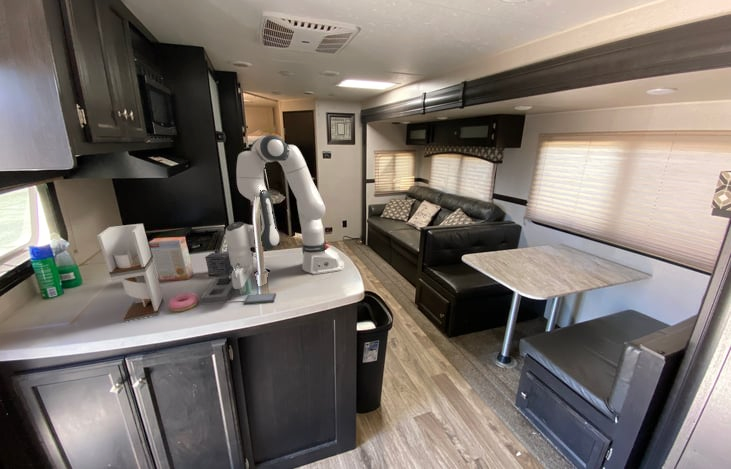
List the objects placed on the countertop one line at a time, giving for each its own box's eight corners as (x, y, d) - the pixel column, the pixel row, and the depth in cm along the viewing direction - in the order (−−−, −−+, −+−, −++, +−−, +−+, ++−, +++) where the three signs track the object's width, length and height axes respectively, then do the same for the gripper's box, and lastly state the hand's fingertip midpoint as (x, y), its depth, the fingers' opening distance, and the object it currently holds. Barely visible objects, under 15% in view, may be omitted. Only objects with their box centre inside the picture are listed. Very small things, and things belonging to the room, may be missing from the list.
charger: (252, 289, 134) (250, 276, 132) (249, 293, 130) (247, 280, 128) (243, 290, 133) (240, 277, 131) (240, 294, 130) (238, 281, 127)
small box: (234, 270, 153) (231, 252, 150) (228, 276, 147) (224, 257, 144) (216, 270, 154) (212, 252, 151) (208, 275, 148) (204, 256, 145)
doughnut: (187, 297, 129) (185, 288, 127) (205, 302, 125) (203, 293, 123) (163, 310, 119) (160, 301, 118) (181, 315, 115) (179, 306, 114)
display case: (134, 307, 121) (109, 227, 110) (164, 301, 125) (142, 223, 114) (125, 322, 111) (97, 235, 100) (158, 315, 115) (134, 231, 104)
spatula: (276, 295, 128) (276, 292, 128) (273, 302, 123) (273, 300, 122) (229, 298, 126) (228, 296, 126) (224, 306, 121) (224, 303, 120)
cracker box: (194, 274, 150) (185, 236, 143) (188, 279, 144) (179, 240, 137) (165, 276, 149) (155, 237, 142) (158, 281, 143) (148, 241, 136)
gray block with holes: (239, 282, 140) (237, 271, 139) (226, 302, 124) (224, 290, 122) (217, 283, 139) (215, 273, 138) (202, 304, 122) (199, 292, 121)
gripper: (241, 269, 117) (246, 299, 122) (254, 250, 136) (258, 277, 141) (225, 270, 116) (231, 300, 121) (240, 251, 136) (244, 278, 140)
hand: (245, 287), depth 131 cm, fingers closed on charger, 4 cm apart
